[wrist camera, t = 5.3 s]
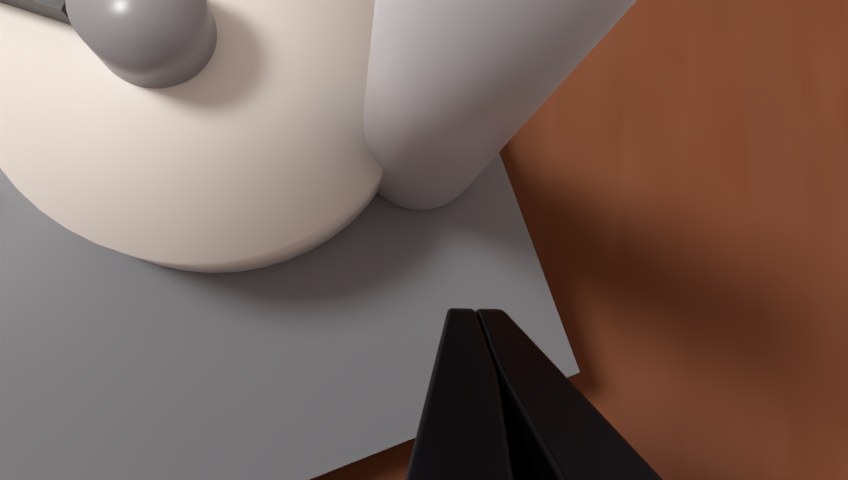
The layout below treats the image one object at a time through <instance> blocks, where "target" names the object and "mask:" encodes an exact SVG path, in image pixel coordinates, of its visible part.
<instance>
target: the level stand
mask: <svg viewBox="0 0 848 480" xmlns="http://www.w3.org/2000/svg"><path fill="white" fill-rule="evenodd" d="M450 308H471V309H473V310H474V311H476V310H478V309H501V310H503V311H505V312H506V313H507V314H508V315H509V316H510V317H511V319H512V320H513V321H514V322H515V323H516V324H517V325H518V326H519V327H520V328H521V329H522V330H523V331H524V332H525V333H526V334H527V336H528V337H529V338H530V339H531V340H532V341H533V342H534V343H535V344H536V345H537V346H538V347H539V348H540V349H541V350H542V352H543V353H544V354H545V355H546V356H547V357H548V358H549V359H550V360H551V361H552V362H553V363H554V364H555V365H556V366H557V368H558V369H559V370H560V371H561V372H562V373H563V374H564V375H565V376H566V377H569V376H572V375H574V374H577V373H580V371H579V368H578V366H577V363H576V360H575V357H574V355H573V352H572V349H571V347H570V344H569V341H568V338H567V336H566V333H565V330H564V328H563V325H562V322H561V319H560V317H559V314H558V311H557V308H556V306H555V303H554V300H553V298H552V295H551V292H550V289H549V287H548V284H547V281H546V278H545V276H544V273H543V270H542V268H541V265H540V262H539V259H538V257H537V254H536V251H535V248H534V246H533V243H532V240H531V238H530V235H529V232H528V229H527V227H526V224H525V221H524V218H523V216H522V213H521V210H520V208H519V205H518V202H517V199H516V197H515V194H514V191H513V188H512V186H511V183H510V180H509V178H508V175H507V172H506V169H505V167H504V164H503V161H502V158H501V156H500V153H498V154H497V155H496V156H495V157H494V158H493V159H492V160H491V161H490V163H489V164H488V165H487V166H486V167H485V168H484V169H483V170H482V171H481V172H480V174H479V175H478V176H477V177H476V178H475V179H474V180H473V181H472V182H471V183H470V185H469V186H468V187H467V188H466V189H465V190H464V191H463V192H462V193H461V194H460V195H459V196H458V197H457V198H456V199H454V200H453V201H451V202H450V203H448V204H446V205H443V206H441V207H438V208H434V209H429V210H413V209H408V208H403V207H401V206H398V205H395V204H394V203H392V202H390V201H388V200H387V199H385V198H384V197H382V196H381V195H380V194H379V193H378V192H377V194H376V195H375V196H374V198H373V199H372V200H371V202H370V203H369V204H368V206H367V207H366V208H365V209H364V210H363V211H362V212H361V213H360V214H359V215H358V216H357V217H356V218H355V219H354V220H353V221H352V222H351V223H350V224H349V225H347V226H346V227H345V228H344V229H342V230H341V231H340V232H339V233H337V234H336V235H335V236H334V237H332V238H331V239H329V240H327V241H326V242H324V243H322V244H321V245H319V246H317V247H316V248H314V249H312V250H311V251H308V252H306V253H304V254H302V255H299V256H297V257H295V258H292V259H290V260H288V261H285V262H281V263H278V264H274V265H271V266H268V267H264V268H259V269H253V270H247V271H241V272H226V273H204V272H193V271H183V270H179V269H174V268H169V267H165V266H160V265H156V264H154V263H151V262H148V261H145V260H142V259H139V258H136V257H133V256H130V255H127V254H124V253H121V252H118V251H115V250H113V249H110V248H107V247H104V246H101V245H99V244H96V243H94V242H92V241H90V240H88V239H86V238H84V237H82V236H80V235H78V234H76V233H74V232H72V231H70V230H68V229H66V228H65V227H63V226H62V225H60V224H59V223H58V222H56V221H55V220H53V219H52V218H50V217H49V216H47V215H46V214H45V213H43V212H42V211H40V210H39V209H38V208H37V207H36V206H35V205H34V204H33V203H32V202H31V201H30V200H28V199H27V198H26V197H25V196H24V195H23V194H22V193H21V192H20V191H19V190H18V189H17V188H16V187H15V186H14V184H13V183H12V182H11V181H10V179H9V178H8V177H7V176H6V175H5V173H4V172H3V171H2V170H1V168H0V480H310V479H312V478H315V477H317V476H320V475H322V474H325V473H327V472H330V471H332V470H335V469H337V468H340V467H342V466H345V465H347V464H350V463H353V462H355V461H358V460H360V459H363V458H365V457H368V456H370V455H373V454H375V453H378V452H380V451H383V450H385V449H388V448H390V447H393V446H395V445H398V444H400V443H403V442H405V441H408V440H411V439H413V438H416V434H417V430H418V426H419V422H420V418H421V414H422V410H423V406H424V402H425V398H426V394H427V390H428V386H429V382H430V378H431V374H432V370H433V366H434V362H435V358H436V354H437V350H438V346H439V342H440V338H441V334H442V330H443V326H444V322H445V318H446V314H447V311H448V310H449V309H450Z"/></svg>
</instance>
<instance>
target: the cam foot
mask: <svg viewBox="0 0 848 480" xmlns="http://www.w3.org/2000/svg"><path fill="white" fill-rule="evenodd" d="M636 1H637V0H0V168H1V170H2V171H3V172H4V173H5V175H6V176H7V177H8V178H9V179H10V181H11V182H12V183H13V184H14V186H15V187H16V188H17V189H18V190H19V191H20V192H21V193H22V194H23V195H24V196H25V197H26V198H27V199H28V200H30V201H31V202H32V203H33V204H34V205H35V206H36V207H37V208H38V209H39V210H40V211H42V212H43V213H45V214H46V215H47V216H49V217H50V218H52V219H53V220H55V221H56V222H58V223H59V224H60V225H62V226H63V227H65V228H66V229H68V230H70V231H72V232H74V233H76V234H78V235H80V236H82V237H84V238H86V239H88V240H90V241H92V242H94V243H96V244H99V245H101V246H104V247H107V248H110V249H113V250H115V251H118V252H121V253H124V254H127V255H130V256H133V257H136V258H139V259H142V260H145V261H148V262H151V263H154V264H156V265H160V266H165V267H169V268H174V269H179V270H183V271H193V272H204V273H226V272H241V271H247V270H253V269H259V268H264V267H268V266H271V265H274V264H278V263H281V262H285V261H288V260H290V259H292V258H295V257H297V256H299V255H302V254H304V253H306V252H308V251H311V250H312V249H314V248H316V247H317V246H319V245H321V244H322V243H324V242H326V241H327V240H329V239H331V238H332V237H334V236H335V235H336V234H337V233H339V232H340V231H341V230H342V229H344V228H345V227H346V226H347V225H349V224H350V223H351V222H352V221H353V220H354V219H355V218H356V217H357V216H358V215H359V214H360V213H361V212H362V211H363V210H364V209H365V208H366V207H367V206H368V204H369V203H370V202H371V200H372V199H373V198H374V196H375V195H376V194H377V192H378V193H379V194H380V195H381V196H382V197H384V198H385V199H387V200H388V201H390V202H392V203H394V204H395V205H398V206H401V207H403V208H408V209H413V210H429V209H434V208H438V207H441V206H443V205H446V204H448V203H450V202H451V201H453V200H454V199H456V198H457V197H458V196H459V195H460V194H461V193H462V192H463V191H464V190H465V189H466V188H467V187H468V186H469V185H470V183H471V182H472V181H473V180H474V179H475V178H476V177H477V176H478V175H479V174H480V172H481V171H482V170H483V169H484V168H485V167H486V166H487V165H488V164H489V163H490V161H491V160H492V159H493V158H494V157H495V156H496V155H497V154H498V153H499V152H500V150H501V149H502V148H503V147H504V146H505V145H506V144H507V143H508V142H509V141H510V139H511V138H512V137H513V136H514V135H515V134H516V133H517V132H518V131H519V130H520V128H521V127H522V126H523V125H524V124H525V123H526V122H527V121H528V120H529V119H530V117H531V116H532V115H533V114H534V113H535V112H536V111H537V110H538V109H539V108H540V106H541V105H542V104H543V103H544V102H545V101H546V100H547V99H548V98H549V96H550V95H551V94H552V93H553V92H554V91H555V90H556V89H557V88H558V87H559V85H560V84H561V83H562V82H563V81H564V80H565V79H566V78H567V77H568V76H569V74H570V73H571V72H572V71H573V70H574V69H575V68H576V67H577V66H578V65H579V63H580V62H581V61H582V60H583V59H584V58H585V57H586V56H587V55H588V54H589V52H590V51H591V50H592V49H593V48H594V47H595V46H596V45H597V44H598V43H599V41H600V40H601V39H602V38H603V37H604V36H605V35H606V34H607V33H608V32H609V30H610V29H611V28H612V27H613V26H614V25H615V24H616V23H617V22H618V21H619V19H620V18H621V17H622V16H623V15H624V14H625V13H626V12H627V11H628V9H629V8H630V7H631V6H632V5H633V4H634V3H635V2H636Z"/></svg>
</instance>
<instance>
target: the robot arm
mask: <svg viewBox="0 0 848 480" xmlns="http://www.w3.org/2000/svg"><path fill="white" fill-rule="evenodd" d="M405 480H663V479H662V478H661V477H660V476H659V475H658V474H657V473H656V472H655V471H654V470H653V469H652V468H651V467H650V466H649V464H648V463H647V462H646V461H645V460H644V459H643V458H642V457H641V456H640V455H639V454H638V453H637V452H636V451H635V450H634V449H633V447H632V446H631V445H630V444H629V443H628V442H627V441H626V440H625V439H624V438H623V437H622V436H621V435H620V434H619V433H618V431H617V430H616V429H615V428H614V427H613V426H612V425H611V424H610V423H609V422H608V421H607V420H606V419H605V418H604V417H603V415H602V414H601V413H600V412H599V411H598V410H597V409H596V408H595V407H594V406H593V405H592V404H591V403H590V402H589V401H588V399H587V398H586V397H585V396H584V395H583V394H582V393H581V392H580V391H579V390H578V389H577V388H576V387H575V386H574V385H573V384H572V382H571V381H570V380H569V379H568V378H567V377H566V376H565V375H564V374H563V373H562V372H561V371H560V370H559V369H558V368H557V366H556V365H555V364H554V363H553V362H552V361H551V360H550V359H549V358H548V357H547V356H546V355H545V354H544V353H543V352H542V350H541V349H540V348H539V347H538V346H537V345H536V344H535V343H534V342H533V341H532V340H531V339H530V338H529V337H528V336H527V334H526V333H525V332H524V331H523V330H522V329H521V328H520V327H519V326H518V325H517V324H516V323H515V322H514V321H513V320H512V319H511V317H510V316H509V315H508V314H507V313H506V312H505V311H503V310H501V309H478V310H476V311H474V310H473V309H471V308H450V309H449V310H448V311H447V314H446V318H445V322H444V326H443V330H442V334H441V338H440V342H439V346H438V350H437V354H436V358H435V362H434V366H433V370H432V374H431V378H430V382H429V386H428V390H427V394H426V398H425V402H424V406H423V410H422V414H421V418H420V422H419V426H418V430H417V434H416V438H415V442H414V446H413V450H412V454H411V458H410V462H409V466H408V470H407V474H406V478H405Z"/></svg>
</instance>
